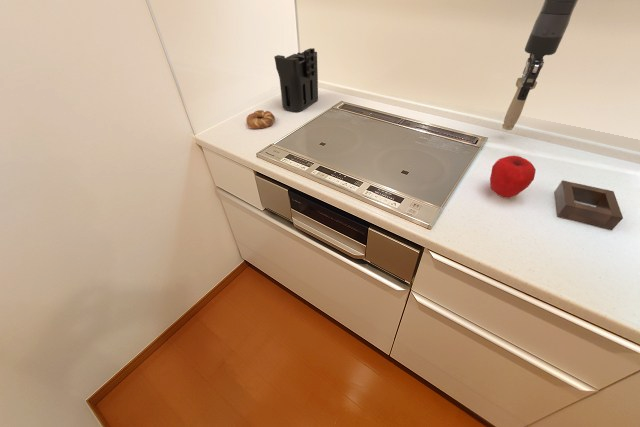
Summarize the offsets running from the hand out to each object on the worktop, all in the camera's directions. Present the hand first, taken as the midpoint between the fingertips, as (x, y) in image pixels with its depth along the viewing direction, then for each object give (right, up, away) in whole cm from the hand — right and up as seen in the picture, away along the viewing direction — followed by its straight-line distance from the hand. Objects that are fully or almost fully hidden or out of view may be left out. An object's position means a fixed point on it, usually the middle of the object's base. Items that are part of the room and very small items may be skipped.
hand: (520, 95), depth 90 cm
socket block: (+5, -35, -15) cm, 39 cm away
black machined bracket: (-68, +12, +39) cm, 80 cm away
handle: (0, -8, +7) cm, 11 cm away
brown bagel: (-85, -1, +26) cm, 88 cm away
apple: (-12, -31, -9) cm, 34 cm away
